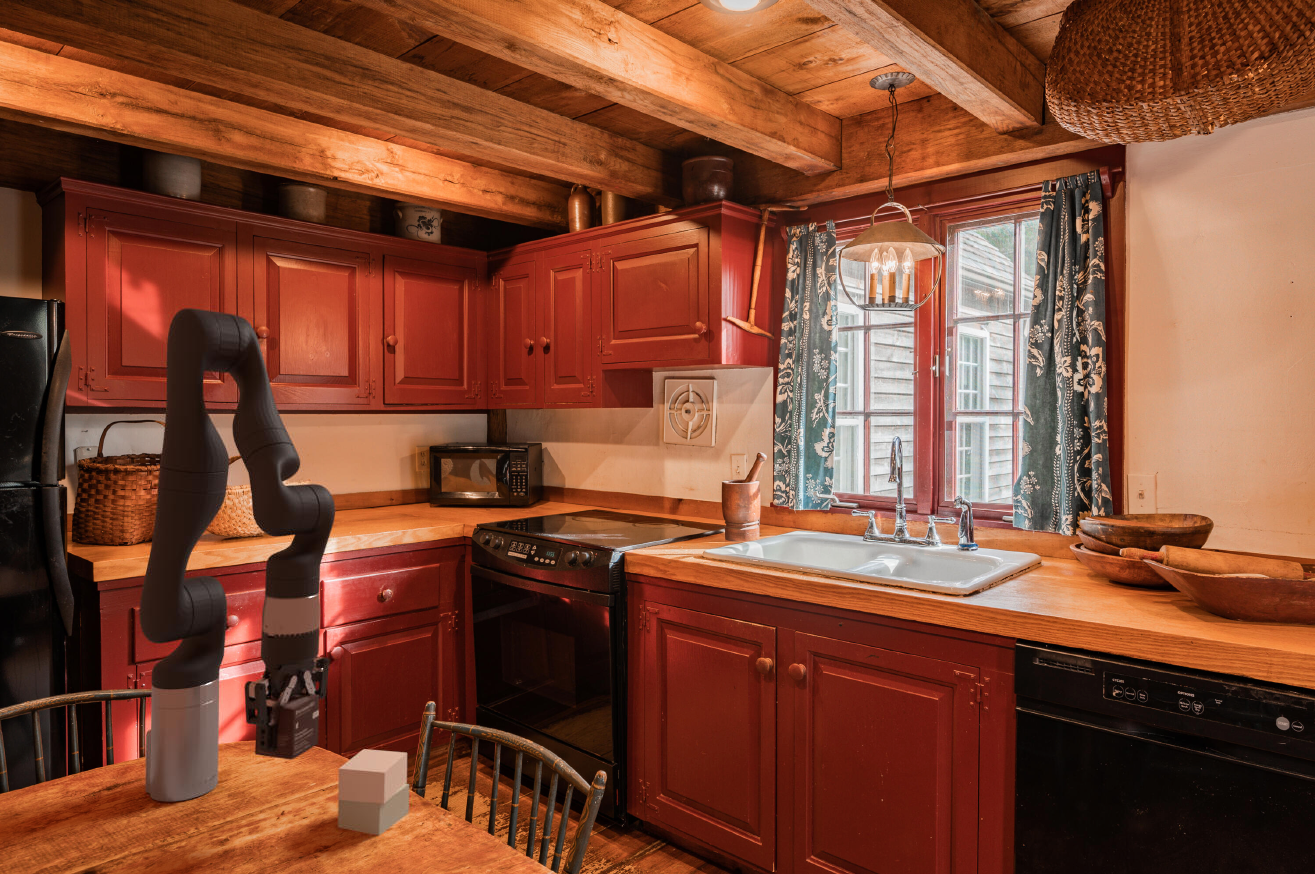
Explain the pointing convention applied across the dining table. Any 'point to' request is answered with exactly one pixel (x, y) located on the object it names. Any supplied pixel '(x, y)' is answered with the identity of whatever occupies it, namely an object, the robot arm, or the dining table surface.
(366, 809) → the tower base
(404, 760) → the tower top
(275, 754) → the box
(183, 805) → the dining table surface
